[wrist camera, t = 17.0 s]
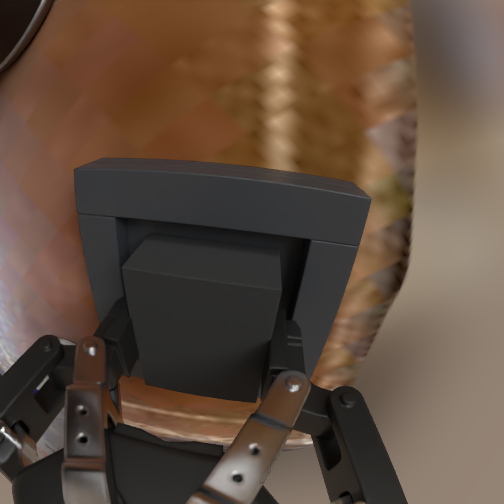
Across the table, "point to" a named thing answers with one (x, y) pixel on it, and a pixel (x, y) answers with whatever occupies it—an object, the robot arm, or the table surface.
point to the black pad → (203, 313)
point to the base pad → (226, 228)
